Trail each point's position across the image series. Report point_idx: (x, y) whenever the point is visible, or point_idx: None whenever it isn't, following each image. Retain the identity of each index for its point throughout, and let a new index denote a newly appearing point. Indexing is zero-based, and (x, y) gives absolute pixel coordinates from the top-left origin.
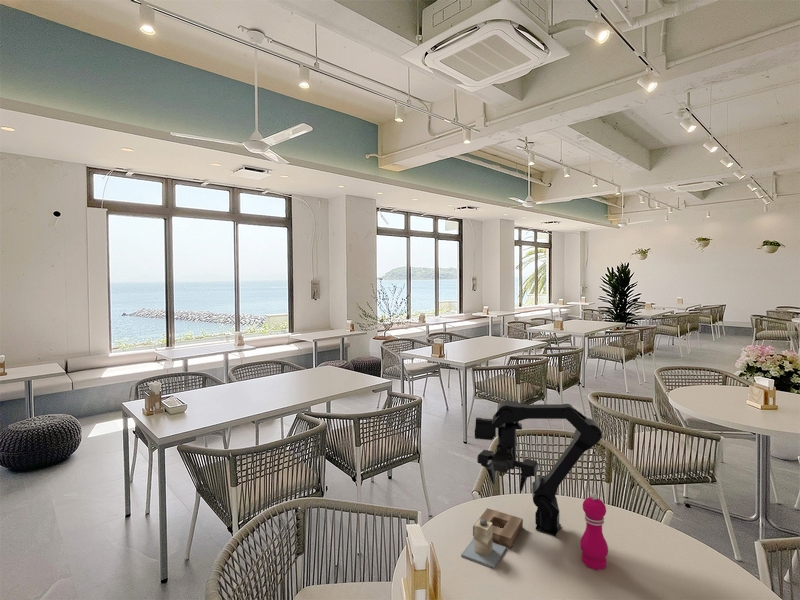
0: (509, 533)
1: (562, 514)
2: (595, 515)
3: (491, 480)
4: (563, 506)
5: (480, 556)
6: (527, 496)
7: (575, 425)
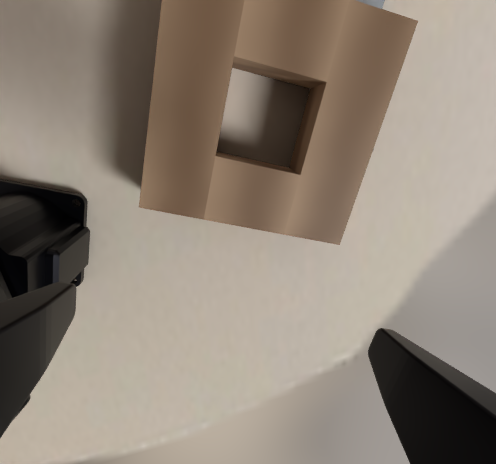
0: (185, 7)
1: None
2: None
3: (431, 354)
4: None
5: None
6: (174, 422)
7: None
